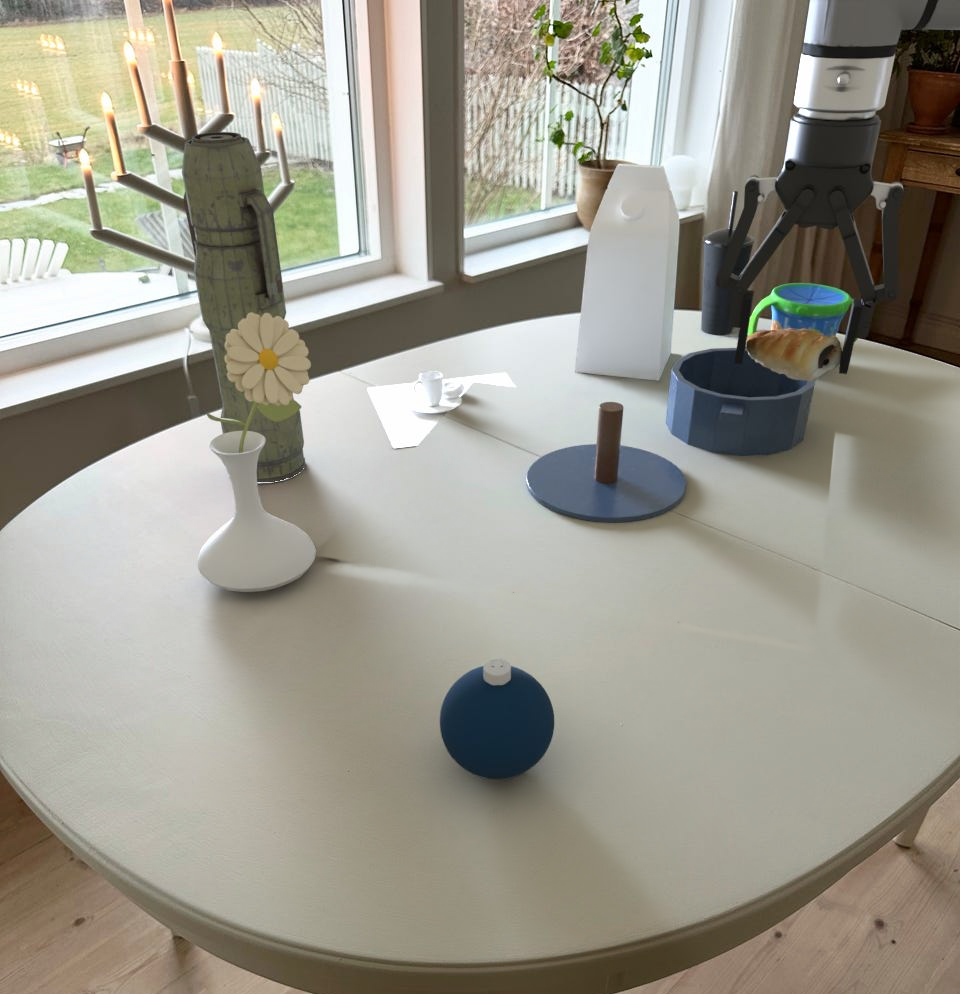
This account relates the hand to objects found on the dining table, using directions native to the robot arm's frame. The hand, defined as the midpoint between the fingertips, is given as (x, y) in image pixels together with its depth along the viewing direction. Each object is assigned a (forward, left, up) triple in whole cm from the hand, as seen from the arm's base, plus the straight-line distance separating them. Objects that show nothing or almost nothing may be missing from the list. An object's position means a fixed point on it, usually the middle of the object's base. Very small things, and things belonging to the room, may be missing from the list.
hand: (790, 363), depth 96 cm
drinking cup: (+12, -54, -16) cm, 58 cm away
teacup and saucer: (+41, -13, -16) cm, 46 cm away
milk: (+23, -36, -16) cm, 46 cm away
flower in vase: (+45, +30, -16) cm, 56 cm away
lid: (+17, +3, -15) cm, 23 cm away
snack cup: (-1, -42, -16) cm, 45 cm away
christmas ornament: (+15, +49, -16) cm, 53 cm away
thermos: (+56, +10, -16) cm, 59 cm away
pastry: (0, 0, 0) cm, 0 cm away
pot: (+5, -17, -15) cm, 24 cm away
